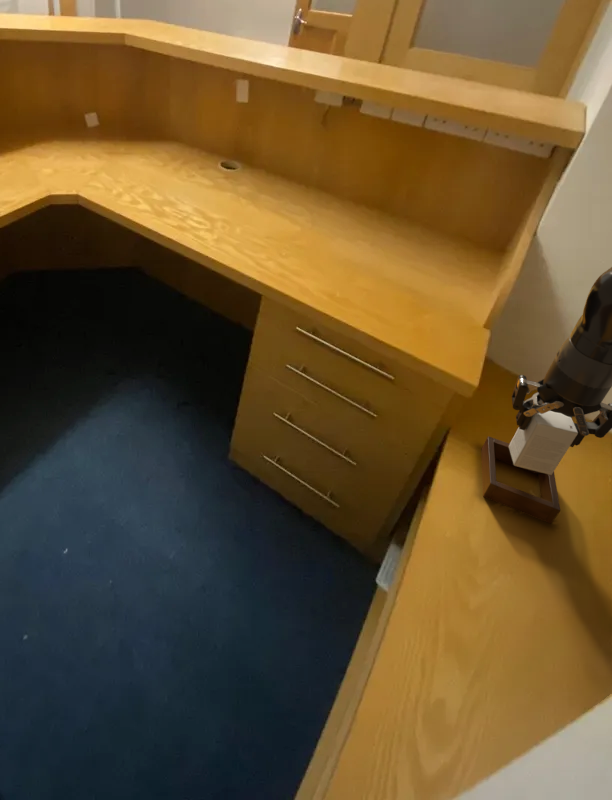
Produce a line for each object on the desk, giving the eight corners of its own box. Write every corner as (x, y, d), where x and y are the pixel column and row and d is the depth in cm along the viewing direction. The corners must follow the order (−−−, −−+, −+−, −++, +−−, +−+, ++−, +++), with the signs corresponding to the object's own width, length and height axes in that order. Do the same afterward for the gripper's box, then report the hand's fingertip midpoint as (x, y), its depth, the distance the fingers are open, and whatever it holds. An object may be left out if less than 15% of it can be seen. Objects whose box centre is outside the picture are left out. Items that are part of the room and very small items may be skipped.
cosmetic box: (544, 454, 93) (570, 412, 87) (551, 476, 89) (579, 433, 83) (506, 445, 94) (530, 403, 88) (512, 466, 91) (537, 423, 85)
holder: (540, 476, 98) (552, 458, 96) (548, 527, 90) (560, 510, 87) (479, 453, 102) (487, 435, 100) (480, 500, 94) (490, 483, 92)
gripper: (533, 368, 79) (498, 434, 88) (649, 403, 74) (600, 470, 82) (528, 336, 85) (495, 401, 94) (636, 367, 79) (590, 433, 88)
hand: (544, 433), depth 88 cm, fingers closed on cosmetic box, 6 cm apart
